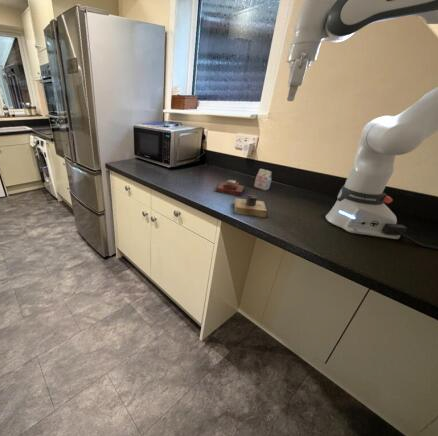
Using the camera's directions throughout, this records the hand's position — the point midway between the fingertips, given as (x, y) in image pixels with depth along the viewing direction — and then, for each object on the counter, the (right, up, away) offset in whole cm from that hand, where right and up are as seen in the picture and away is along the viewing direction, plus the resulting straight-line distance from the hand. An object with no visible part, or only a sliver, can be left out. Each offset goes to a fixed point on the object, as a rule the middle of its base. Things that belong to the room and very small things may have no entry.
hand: (289, 101), depth 85 cm
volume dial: (-8, -37, +15) cm, 41 cm away
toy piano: (-9, -29, +37) cm, 48 cm away
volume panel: (-8, -40, +17) cm, 44 cm away
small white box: (+10, -27, +42) cm, 50 cm away
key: (-9, -25, +36) cm, 45 cm away
